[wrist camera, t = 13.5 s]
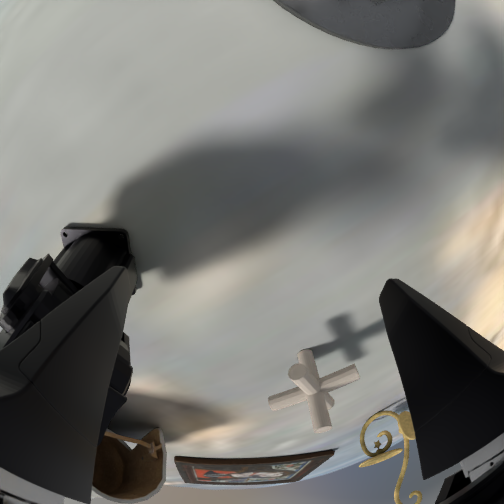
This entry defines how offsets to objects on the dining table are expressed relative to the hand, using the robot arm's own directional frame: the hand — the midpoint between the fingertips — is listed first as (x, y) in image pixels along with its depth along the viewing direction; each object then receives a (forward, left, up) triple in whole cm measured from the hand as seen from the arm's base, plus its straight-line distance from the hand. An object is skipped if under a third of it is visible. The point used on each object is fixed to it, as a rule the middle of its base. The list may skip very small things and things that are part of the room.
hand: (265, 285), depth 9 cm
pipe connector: (+9, -20, -12) cm, 25 cm away
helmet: (-23, -48, -12) cm, 54 cm away
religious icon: (+10, -89, -13) cm, 90 cm away
